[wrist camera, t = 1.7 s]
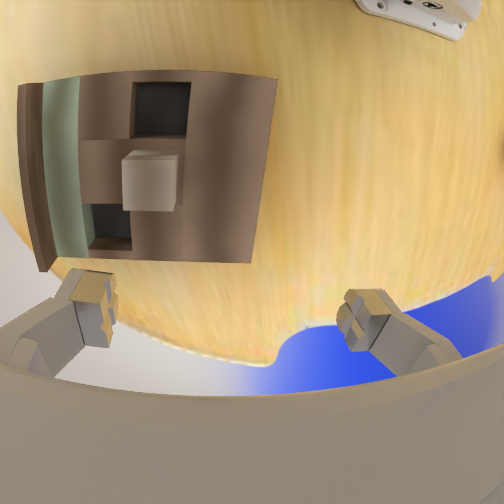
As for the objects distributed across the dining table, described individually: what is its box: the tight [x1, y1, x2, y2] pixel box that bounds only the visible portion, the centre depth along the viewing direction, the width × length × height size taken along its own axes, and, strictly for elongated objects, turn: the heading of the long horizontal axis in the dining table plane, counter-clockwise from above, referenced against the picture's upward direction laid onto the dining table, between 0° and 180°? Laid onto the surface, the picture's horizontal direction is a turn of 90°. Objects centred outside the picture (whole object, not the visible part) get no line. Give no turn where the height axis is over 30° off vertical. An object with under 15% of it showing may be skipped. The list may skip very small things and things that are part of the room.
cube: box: [122, 150, 180, 212], centre depth 22 cm, size 4×4×4 cm
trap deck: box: [17, 70, 278, 272], centre depth 23 cm, size 22×18×6 cm
